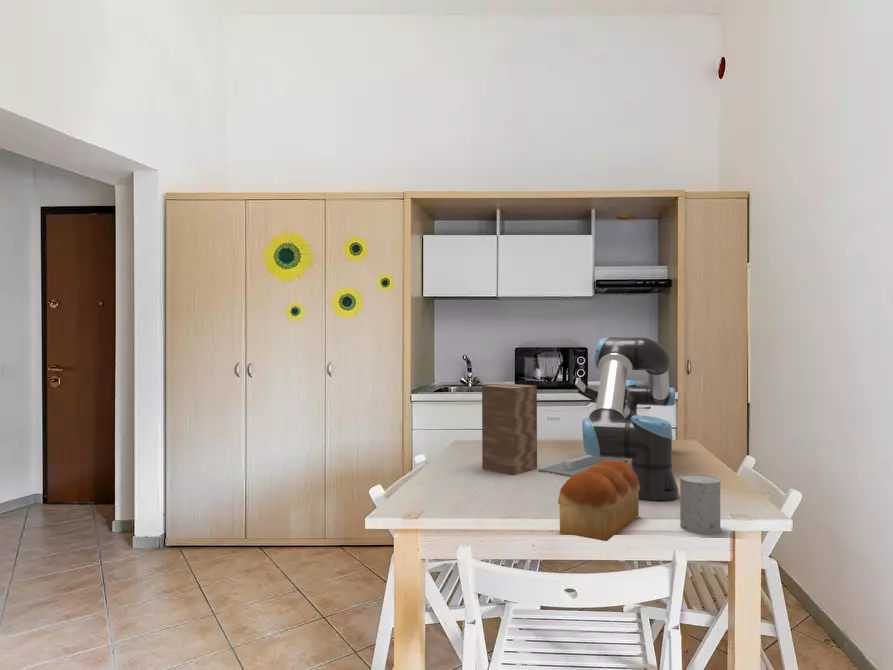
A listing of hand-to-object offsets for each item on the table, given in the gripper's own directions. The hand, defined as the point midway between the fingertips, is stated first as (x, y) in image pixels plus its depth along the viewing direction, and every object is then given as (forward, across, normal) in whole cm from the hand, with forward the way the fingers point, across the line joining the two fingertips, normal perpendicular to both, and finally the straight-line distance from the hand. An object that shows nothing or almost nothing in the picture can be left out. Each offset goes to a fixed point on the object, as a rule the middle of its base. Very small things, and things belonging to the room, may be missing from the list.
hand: (592, 381), depth 236 cm
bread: (+39, -39, -60) cm, 81 cm away
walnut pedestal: (+8, +18, -40) cm, 45 cm away
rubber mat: (-11, 0, -29) cm, 31 cm away
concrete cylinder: (+27, -59, -53) cm, 84 cm away
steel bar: (-11, 0, -28) cm, 30 cm away
